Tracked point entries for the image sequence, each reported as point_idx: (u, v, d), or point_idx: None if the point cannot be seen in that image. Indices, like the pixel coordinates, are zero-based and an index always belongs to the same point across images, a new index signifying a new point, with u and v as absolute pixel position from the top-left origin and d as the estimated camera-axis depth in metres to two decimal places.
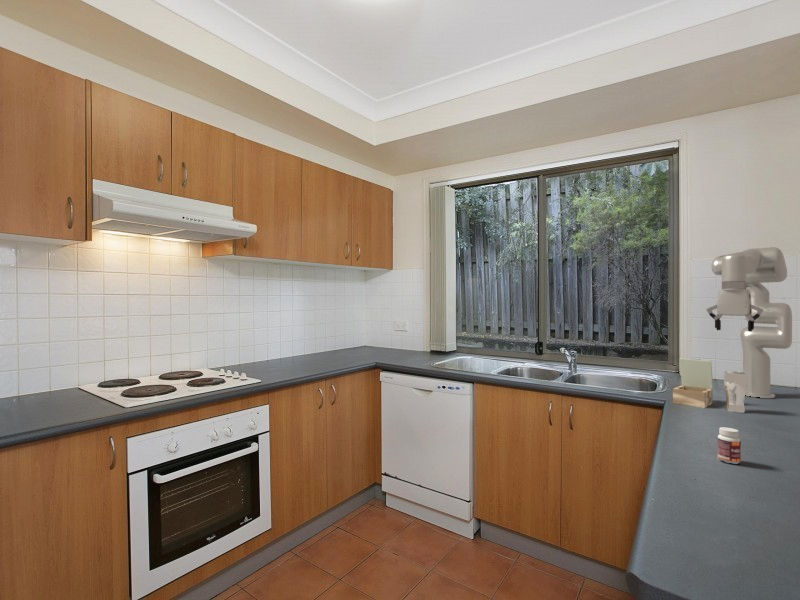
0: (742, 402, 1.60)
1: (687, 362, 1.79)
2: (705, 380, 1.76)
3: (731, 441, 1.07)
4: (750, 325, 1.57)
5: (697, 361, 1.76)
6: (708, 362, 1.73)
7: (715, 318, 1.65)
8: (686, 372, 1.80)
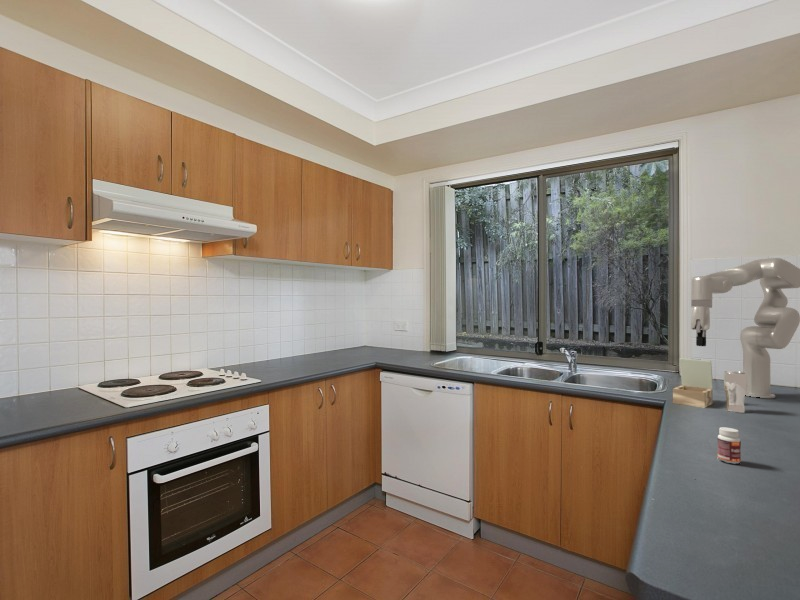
0: (742, 402, 1.60)
1: (687, 362, 1.79)
2: (705, 380, 1.76)
3: (731, 441, 1.07)
4: None
5: (697, 361, 1.76)
6: (708, 362, 1.73)
7: (703, 335, 1.82)
8: (686, 372, 1.80)
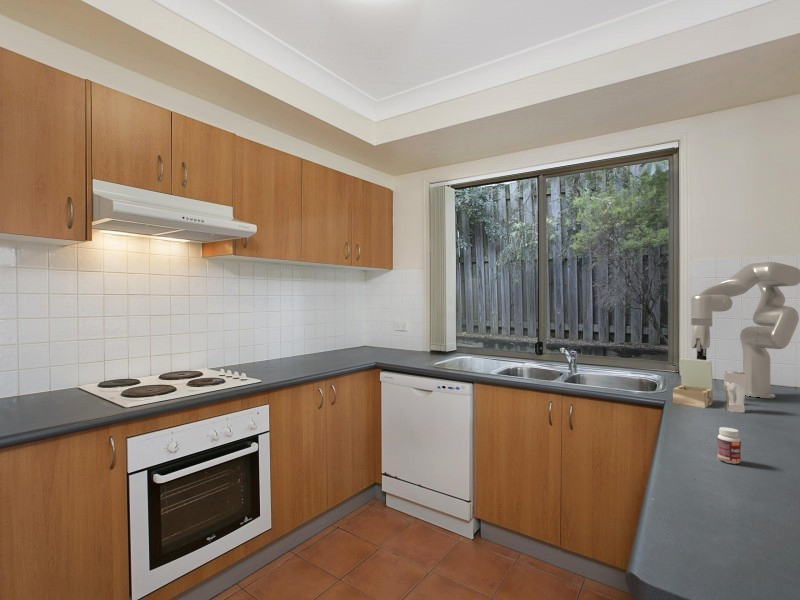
0: (742, 402, 1.60)
1: (687, 362, 1.79)
2: (705, 380, 1.76)
3: (731, 441, 1.07)
4: None
5: (697, 361, 1.76)
6: (708, 362, 1.73)
7: (704, 354, 1.82)
8: (686, 372, 1.80)
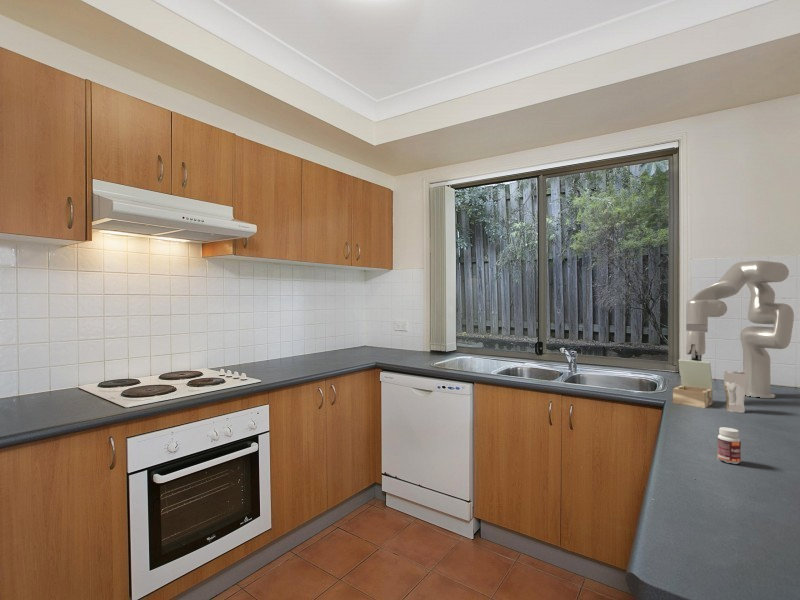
0: (742, 402, 1.60)
1: (686, 363, 1.78)
2: (705, 380, 1.75)
3: (731, 441, 1.07)
4: None
5: (696, 362, 1.75)
6: (707, 363, 1.72)
7: None
8: (685, 373, 1.80)
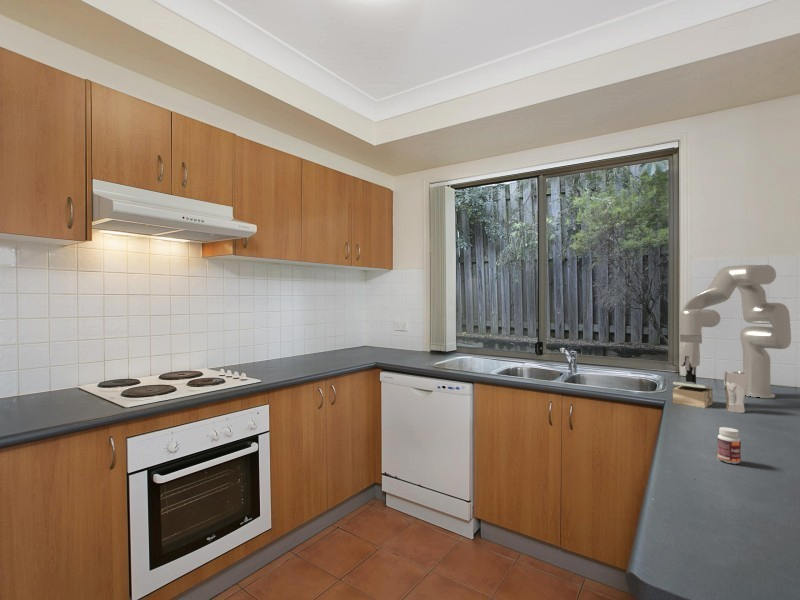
0: (742, 402, 1.60)
1: None
2: None
3: (731, 441, 1.07)
4: None
5: (691, 386, 1.71)
6: None
7: (693, 373, 1.72)
8: None
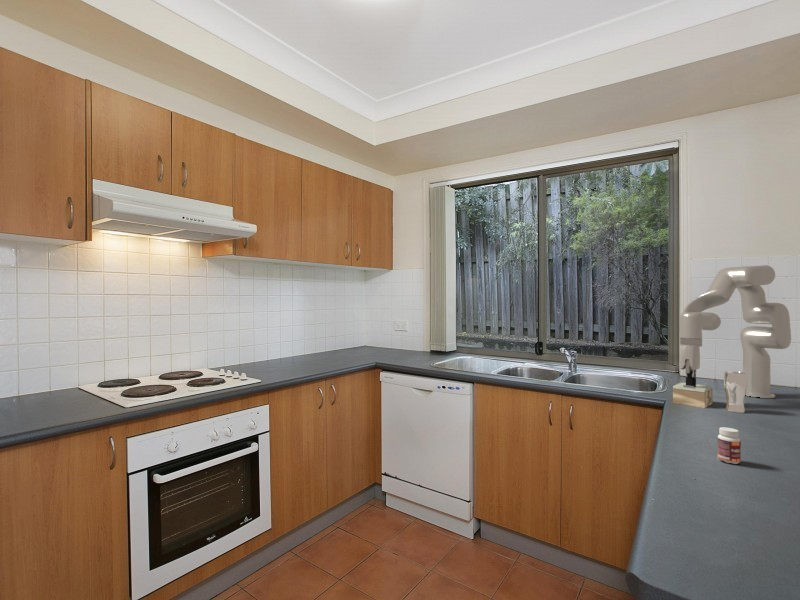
0: (742, 402, 1.60)
1: (681, 388, 1.74)
2: None
3: (731, 441, 1.07)
4: None
5: (691, 390, 1.70)
6: None
7: (693, 376, 1.72)
8: None
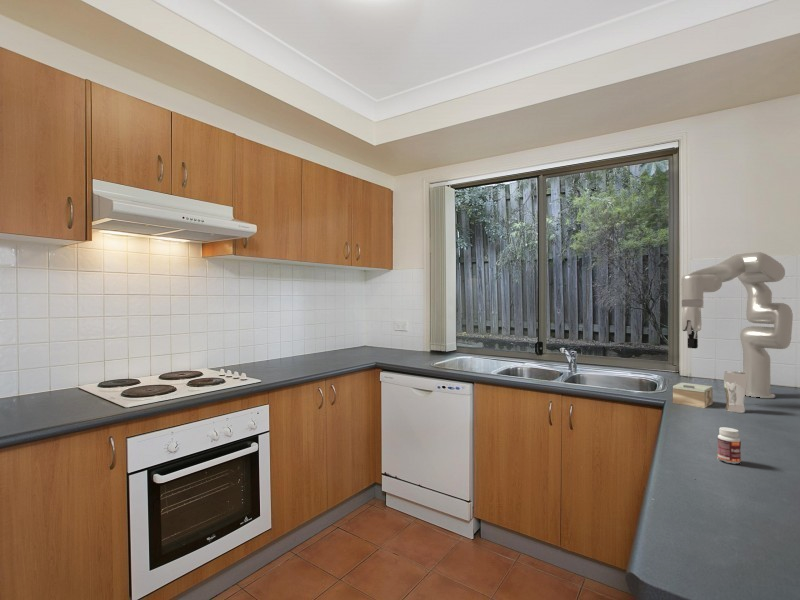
0: (742, 402, 1.60)
1: (681, 388, 1.74)
2: None
3: (731, 441, 1.07)
4: None
5: (691, 390, 1.70)
6: None
7: (695, 337, 1.73)
8: None
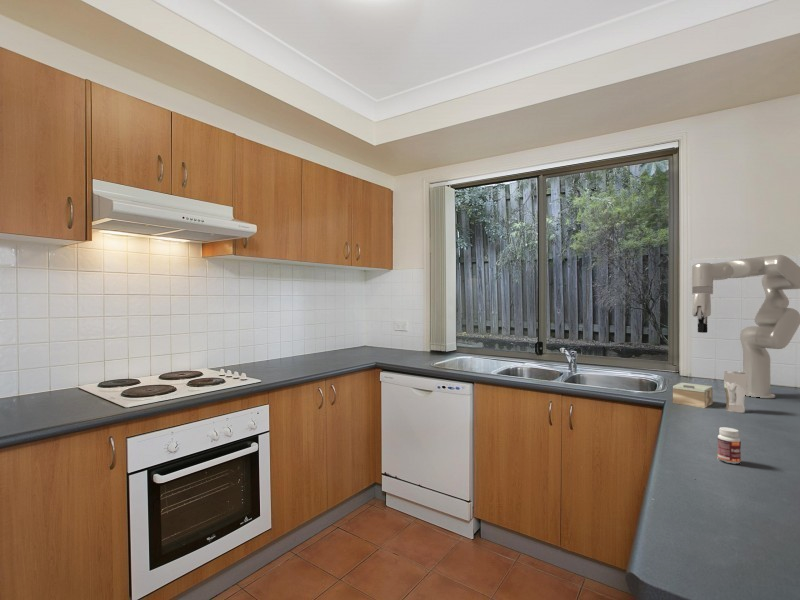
0: (742, 402, 1.60)
1: (681, 388, 1.74)
2: None
3: (731, 441, 1.07)
4: None
5: (691, 390, 1.70)
6: None
7: (705, 322, 1.83)
8: None
